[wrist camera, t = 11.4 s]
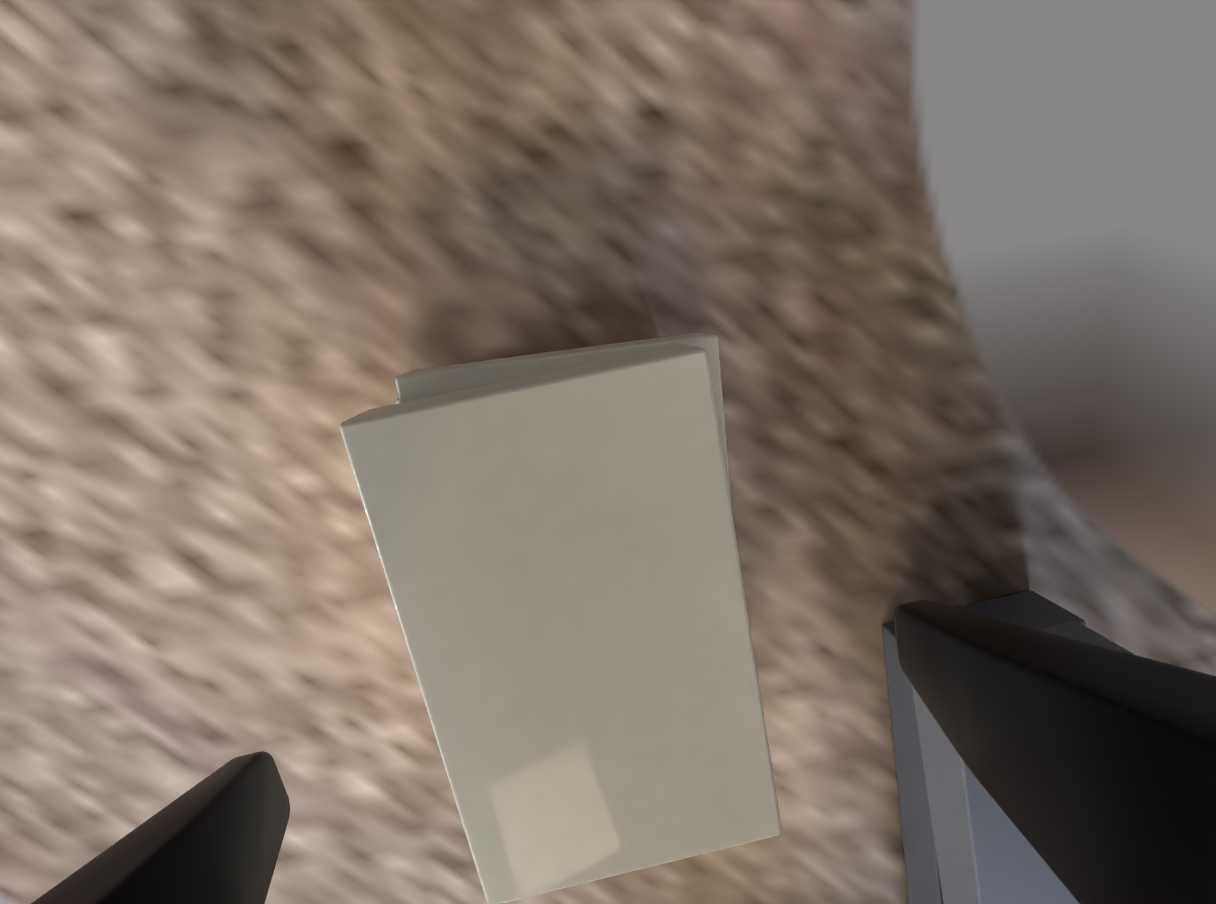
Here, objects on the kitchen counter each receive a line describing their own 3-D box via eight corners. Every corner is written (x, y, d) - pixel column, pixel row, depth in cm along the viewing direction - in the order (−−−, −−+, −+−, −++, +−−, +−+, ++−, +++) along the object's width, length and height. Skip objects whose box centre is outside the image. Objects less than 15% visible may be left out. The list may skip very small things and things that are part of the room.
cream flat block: (742, 690, 15) (784, 774, 12) (504, 746, 15) (493, 844, 12) (680, 313, 13) (714, 311, 10) (399, 370, 12) (356, 384, 10)
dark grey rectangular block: (1049, 918, 18) (1156, 1048, 14) (903, 956, 17) (980, 1095, 14) (1041, 582, 15) (1168, 652, 12) (870, 622, 15) (953, 703, 12)
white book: (758, 778, 12) (783, 836, 11) (494, 842, 12) (487, 909, 11) (686, 342, 10) (708, 346, 9) (366, 409, 10) (336, 424, 8)
